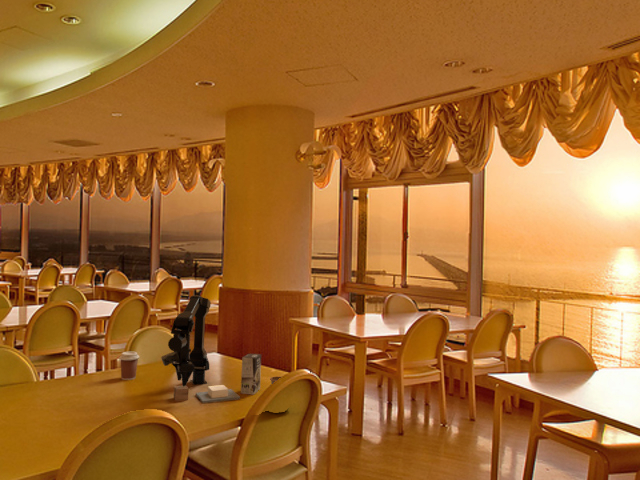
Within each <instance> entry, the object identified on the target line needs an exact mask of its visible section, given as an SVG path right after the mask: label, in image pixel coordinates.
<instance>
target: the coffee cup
mask: <svg viewBox="0 0 640 480" xmlns="http://www.w3.org/2000/svg"><path fill="white" fill-rule="evenodd" d="M139 358H140V355H139V354H138V352H137V351H123V352H121V355H120V356H118V359H119V360H120V375H121V377H120V378H121V380H123V381H130V380H131V381H132V380H135V379H136V376H137V370H138V368H137V367H138V361H139Z"/></svg>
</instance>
